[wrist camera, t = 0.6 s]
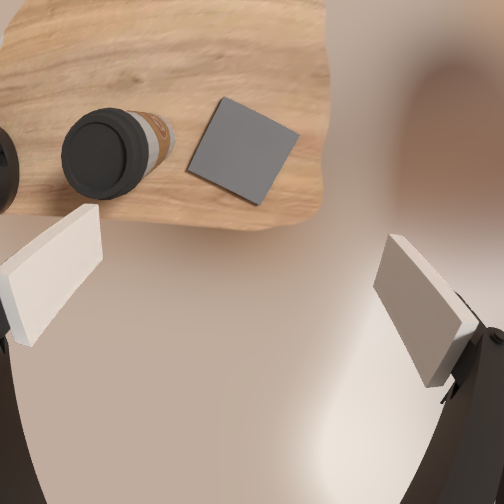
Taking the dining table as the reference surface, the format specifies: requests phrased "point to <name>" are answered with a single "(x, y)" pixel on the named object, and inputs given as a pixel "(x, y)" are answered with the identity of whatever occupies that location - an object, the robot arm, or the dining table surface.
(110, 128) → the coffee cup
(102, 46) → the dining table surface
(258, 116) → the coaster
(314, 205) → the dining table surface
